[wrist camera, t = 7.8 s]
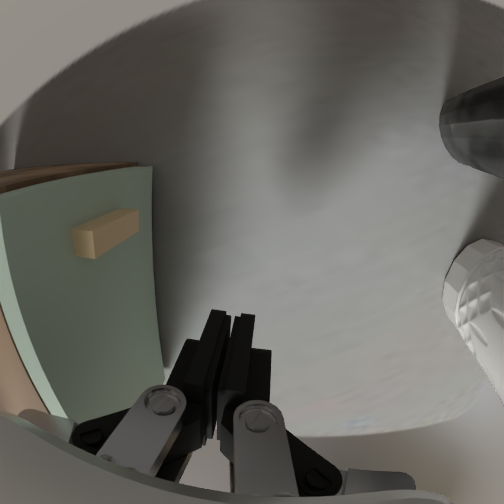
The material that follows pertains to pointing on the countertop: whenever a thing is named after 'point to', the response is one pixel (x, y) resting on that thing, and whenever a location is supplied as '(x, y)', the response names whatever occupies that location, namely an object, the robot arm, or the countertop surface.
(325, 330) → the countertop surface
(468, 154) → the beverage cup
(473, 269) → the white cup
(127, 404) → the door
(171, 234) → the countertop surface
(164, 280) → the countertop surface
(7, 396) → the wooden storage crate
